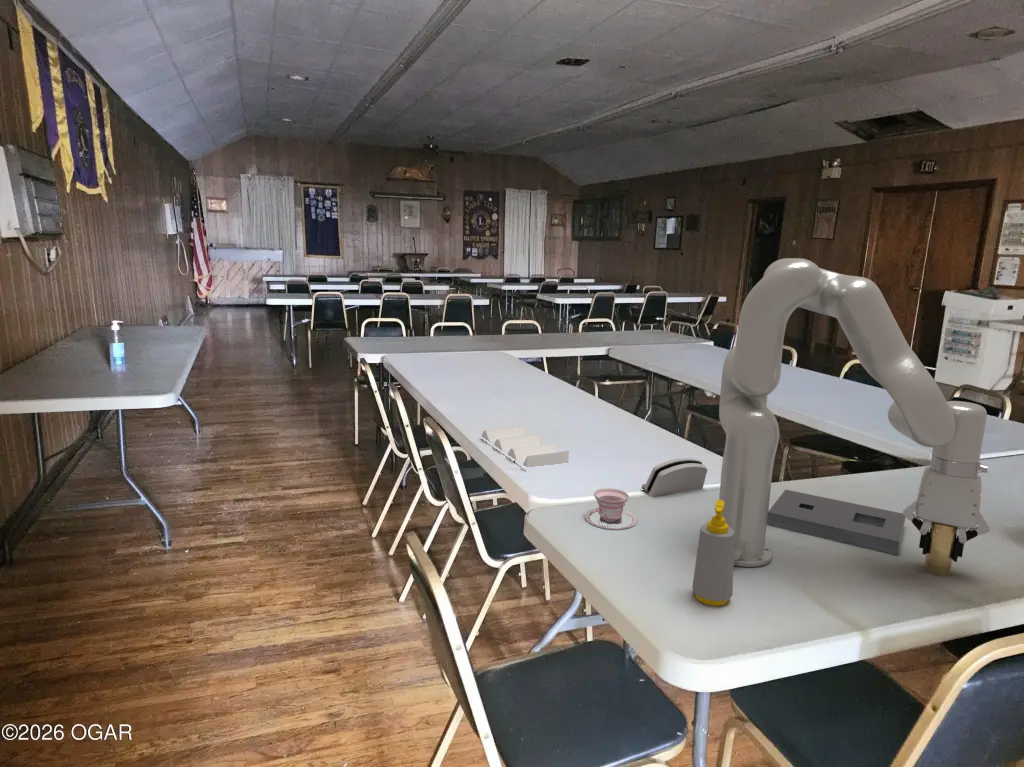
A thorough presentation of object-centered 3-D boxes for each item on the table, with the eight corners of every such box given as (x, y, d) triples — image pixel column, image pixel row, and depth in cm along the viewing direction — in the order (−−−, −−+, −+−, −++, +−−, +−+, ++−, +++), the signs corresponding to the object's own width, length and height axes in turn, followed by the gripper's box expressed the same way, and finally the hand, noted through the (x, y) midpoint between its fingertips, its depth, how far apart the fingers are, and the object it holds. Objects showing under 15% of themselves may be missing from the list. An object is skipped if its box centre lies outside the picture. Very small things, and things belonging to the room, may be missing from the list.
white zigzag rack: (516, 436, 220) (516, 421, 219) (568, 468, 189) (568, 450, 188) (479, 440, 214) (479, 424, 213) (526, 473, 183) (527, 456, 182)
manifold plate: (897, 555, 136) (899, 541, 136) (766, 524, 151) (767, 512, 150) (904, 526, 151) (906, 514, 151) (784, 500, 165) (785, 489, 165)
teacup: (575, 513, 155) (576, 488, 154) (620, 507, 159) (621, 482, 158) (600, 534, 144) (602, 507, 143) (647, 526, 149) (649, 500, 147)
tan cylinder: (950, 578, 127) (958, 529, 125) (923, 571, 130) (930, 523, 128) (950, 569, 131) (958, 522, 129) (924, 563, 133) (931, 516, 131)
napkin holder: (690, 481, 178) (702, 451, 173) (701, 493, 174) (713, 462, 169) (639, 490, 171) (649, 459, 166) (649, 501, 167) (660, 470, 162)
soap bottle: (689, 603, 116) (697, 507, 112) (693, 585, 122) (701, 493, 119) (730, 611, 114) (740, 513, 110) (732, 592, 120) (741, 499, 116)
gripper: (1007, 470, 124) (991, 560, 128) (904, 453, 134) (892, 538, 137) (1009, 481, 118) (992, 575, 122) (901, 462, 128) (888, 551, 131)
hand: (939, 554), depth 130 cm, fingers closed on tan cylinder, 4 cm apart
